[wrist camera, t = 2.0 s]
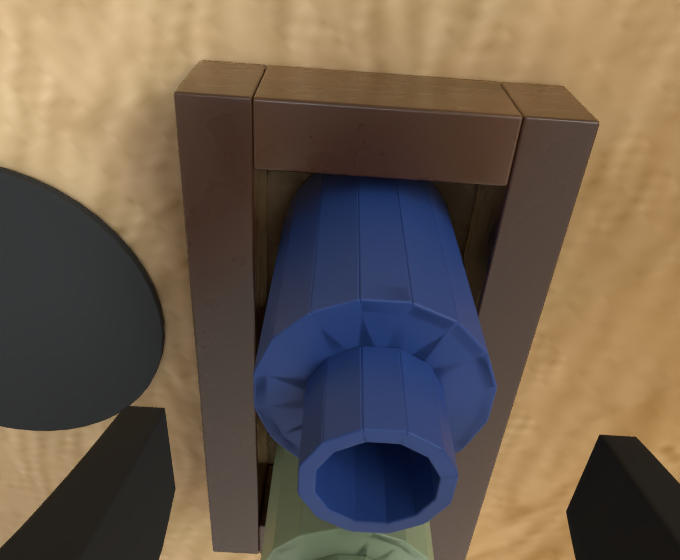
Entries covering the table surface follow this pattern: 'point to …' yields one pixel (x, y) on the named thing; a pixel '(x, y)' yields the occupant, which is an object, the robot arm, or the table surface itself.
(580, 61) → the table surface
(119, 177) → the table surface
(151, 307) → the coaster
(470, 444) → the bottle rack
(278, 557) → the sage bottle
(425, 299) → the blue bottle
